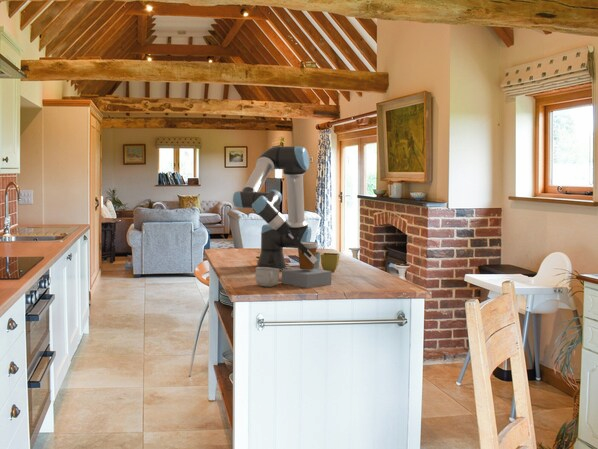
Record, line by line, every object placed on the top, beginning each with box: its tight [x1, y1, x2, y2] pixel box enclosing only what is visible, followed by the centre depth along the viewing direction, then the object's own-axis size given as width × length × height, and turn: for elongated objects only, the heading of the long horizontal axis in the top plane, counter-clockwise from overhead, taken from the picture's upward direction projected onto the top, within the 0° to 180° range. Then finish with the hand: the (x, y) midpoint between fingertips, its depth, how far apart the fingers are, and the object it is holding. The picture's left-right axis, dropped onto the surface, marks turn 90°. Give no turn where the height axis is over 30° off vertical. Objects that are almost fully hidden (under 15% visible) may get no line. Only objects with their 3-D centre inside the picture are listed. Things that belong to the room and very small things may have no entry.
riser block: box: [281, 267, 333, 289], centre depth 299 cm, size 16×16×6 cm
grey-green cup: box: [314, 251, 322, 269], centre depth 318 cm, size 10×10×12 cm
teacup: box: [254, 266, 281, 288], centre depth 290 cm, size 14×11×8 cm
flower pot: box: [320, 252, 340, 273], centre depth 340 cm, size 9×9×9 cm
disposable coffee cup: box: [297, 241, 319, 270], centre depth 299 cm, size 10×10×12 cm
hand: (314, 260), depth 299 cm, fingers closed on disposable coffee cup, 9 cm apart
